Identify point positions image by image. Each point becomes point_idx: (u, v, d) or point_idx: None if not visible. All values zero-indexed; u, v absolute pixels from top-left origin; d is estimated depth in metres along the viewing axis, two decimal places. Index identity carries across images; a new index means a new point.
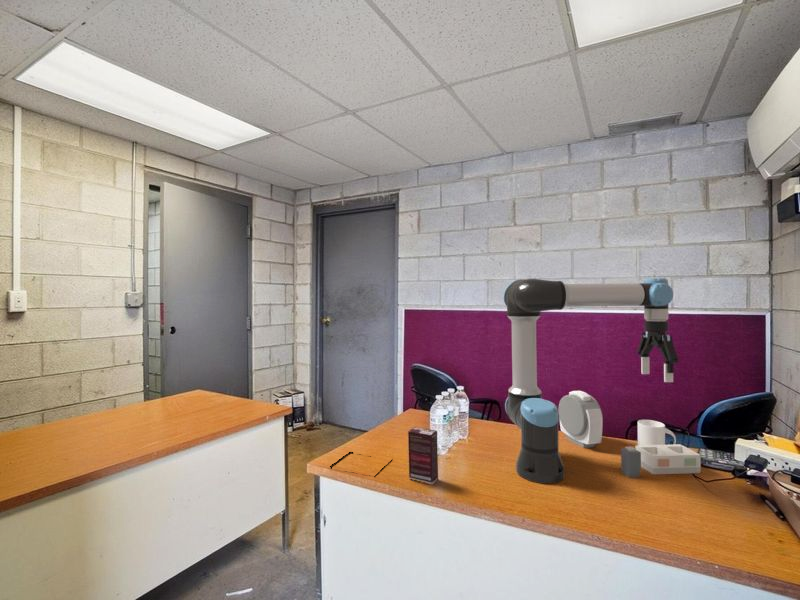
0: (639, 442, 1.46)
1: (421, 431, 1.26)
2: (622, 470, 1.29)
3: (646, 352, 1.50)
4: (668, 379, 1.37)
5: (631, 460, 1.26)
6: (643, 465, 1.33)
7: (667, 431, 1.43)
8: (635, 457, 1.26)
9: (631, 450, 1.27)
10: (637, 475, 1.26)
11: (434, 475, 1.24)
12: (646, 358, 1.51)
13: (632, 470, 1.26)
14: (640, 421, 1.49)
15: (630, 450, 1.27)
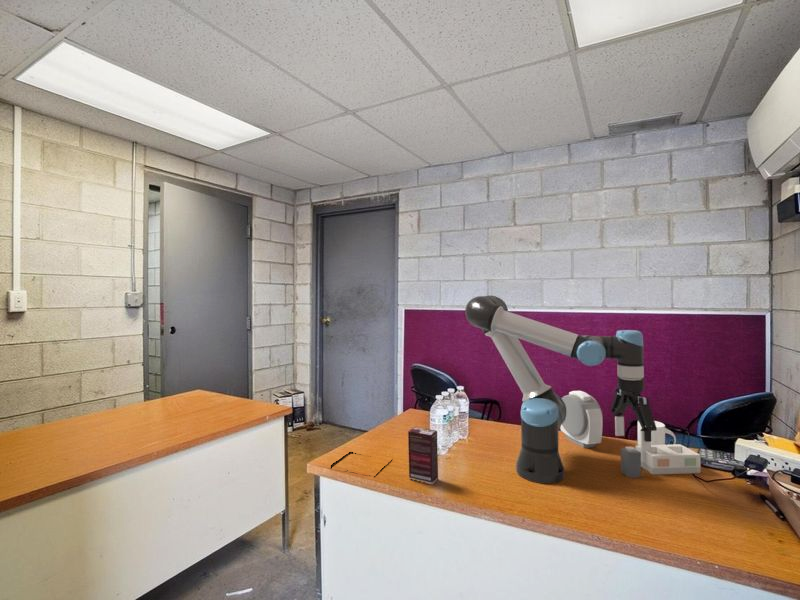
0: (639, 442, 1.46)
1: (421, 431, 1.26)
2: (622, 470, 1.29)
3: (620, 411, 1.34)
4: (645, 448, 1.21)
5: (631, 460, 1.26)
6: (643, 465, 1.33)
7: (667, 431, 1.43)
8: (635, 457, 1.26)
9: (631, 450, 1.27)
10: (637, 475, 1.26)
11: (434, 475, 1.24)
12: (620, 418, 1.34)
13: (632, 470, 1.26)
14: None
15: (630, 450, 1.27)
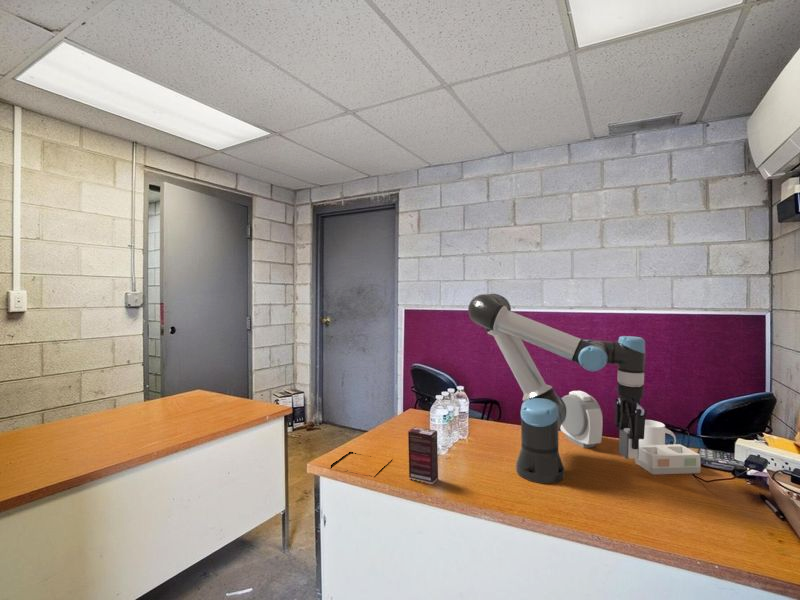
0: (639, 442, 1.46)
1: (421, 431, 1.26)
2: (620, 451, 1.30)
3: (624, 424, 1.30)
4: (632, 455, 1.26)
5: None
6: (643, 465, 1.33)
7: (667, 431, 1.43)
8: None
9: (629, 431, 1.27)
10: None
11: (434, 475, 1.24)
12: None
13: None
14: None
15: (628, 431, 1.27)
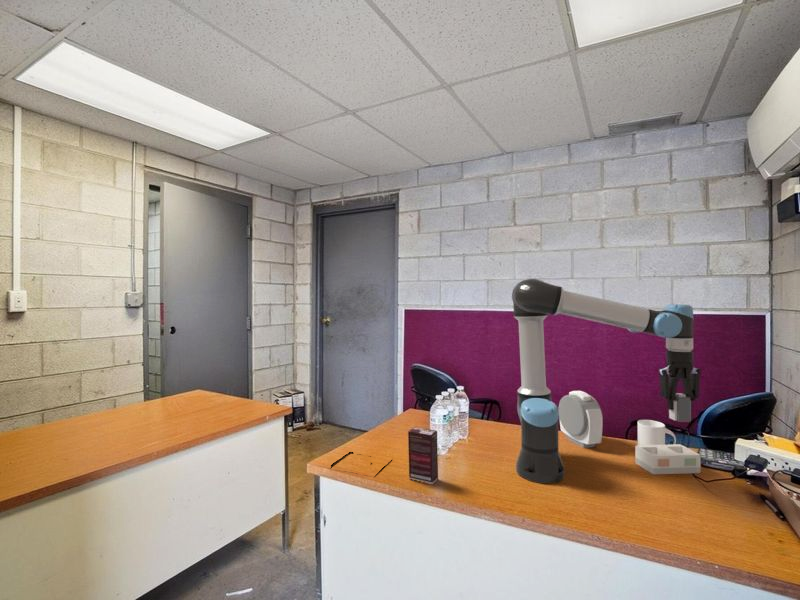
0: (639, 442, 1.46)
1: (421, 431, 1.26)
2: None
3: (685, 391, 1.33)
4: (671, 416, 1.33)
5: None
6: (643, 465, 1.33)
7: (667, 431, 1.43)
8: None
9: (675, 395, 1.33)
10: None
11: (434, 475, 1.24)
12: None
13: None
14: (640, 421, 1.49)
15: None
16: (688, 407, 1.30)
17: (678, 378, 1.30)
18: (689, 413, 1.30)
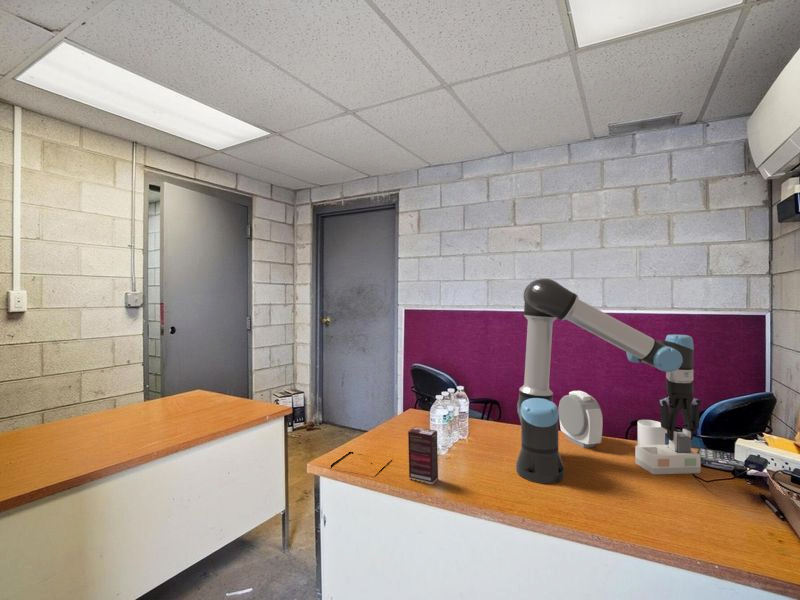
0: (639, 442, 1.46)
1: (421, 431, 1.26)
2: None
3: (686, 422, 1.33)
4: (671, 446, 1.33)
5: None
6: (643, 465, 1.33)
7: None
8: None
9: None
10: None
11: (434, 475, 1.24)
12: (686, 431, 1.32)
13: None
14: (640, 421, 1.49)
15: None
16: (688, 447, 1.30)
17: (678, 409, 1.31)
18: None
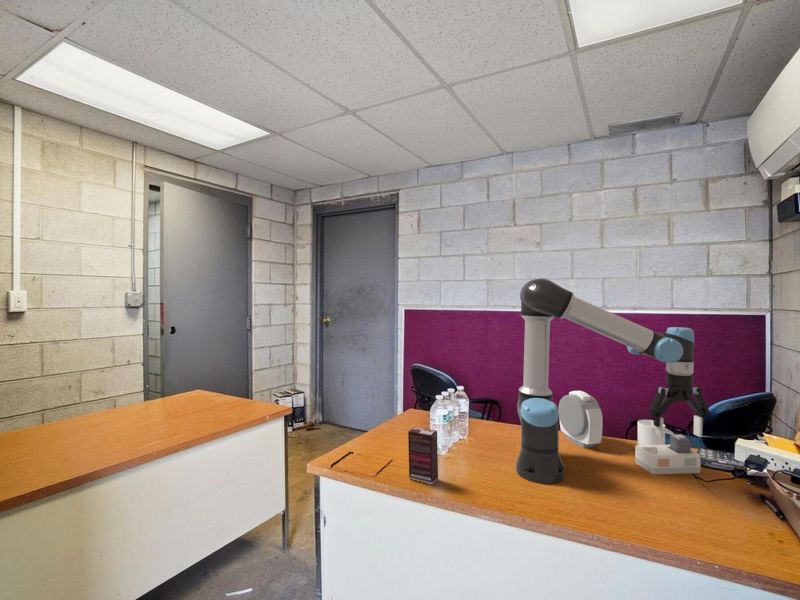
0: (639, 442, 1.46)
1: (421, 431, 1.26)
2: None
3: (695, 410, 1.33)
4: (657, 432, 1.33)
5: (672, 444, 1.33)
6: (643, 465, 1.33)
7: (667, 431, 1.43)
8: (674, 443, 1.32)
9: (676, 436, 1.33)
10: None
11: (434, 475, 1.24)
12: (697, 418, 1.33)
13: None
14: (640, 421, 1.49)
15: (675, 436, 1.33)
16: (688, 449, 1.31)
17: (674, 400, 1.31)
18: None
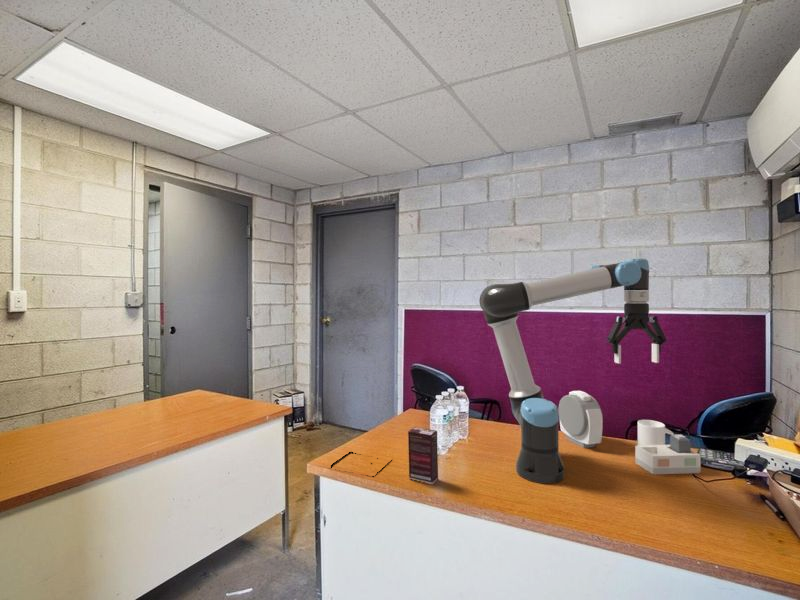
0: (639, 442, 1.46)
1: (421, 431, 1.26)
2: None
3: (652, 338, 1.39)
4: (616, 360, 1.39)
5: (672, 444, 1.33)
6: (643, 465, 1.33)
7: (667, 431, 1.43)
8: (674, 443, 1.32)
9: (676, 436, 1.33)
10: None
11: (434, 475, 1.24)
12: (654, 345, 1.39)
13: None
14: (640, 421, 1.49)
15: (675, 436, 1.33)
16: (688, 449, 1.31)
17: (631, 327, 1.37)
18: None
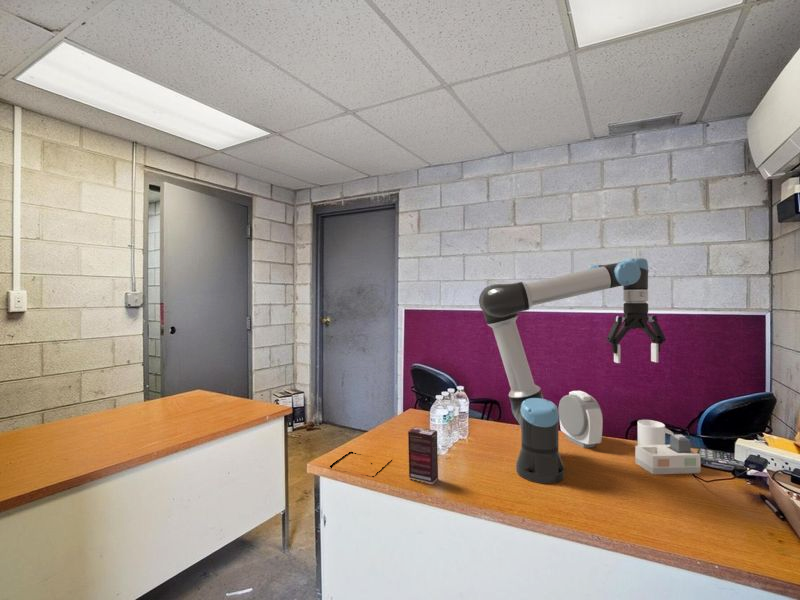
0: (639, 442, 1.46)
1: (421, 431, 1.26)
2: None
3: (651, 337, 1.39)
4: (615, 359, 1.39)
5: (672, 444, 1.33)
6: (643, 465, 1.33)
7: (667, 431, 1.43)
8: (674, 443, 1.32)
9: (676, 436, 1.33)
10: None
11: (434, 475, 1.24)
12: (654, 344, 1.39)
13: None
14: (640, 421, 1.49)
15: (675, 436, 1.33)
16: (688, 449, 1.31)
17: (630, 327, 1.37)
18: None
